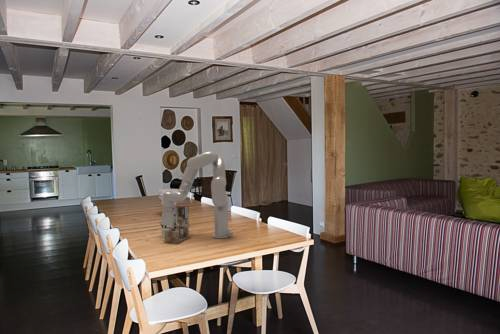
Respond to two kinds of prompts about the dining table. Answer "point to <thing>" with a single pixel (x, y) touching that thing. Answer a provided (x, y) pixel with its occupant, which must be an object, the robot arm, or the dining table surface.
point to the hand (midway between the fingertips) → (169, 234)
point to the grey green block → (165, 230)
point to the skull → (166, 191)
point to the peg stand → (177, 235)
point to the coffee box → (182, 215)
